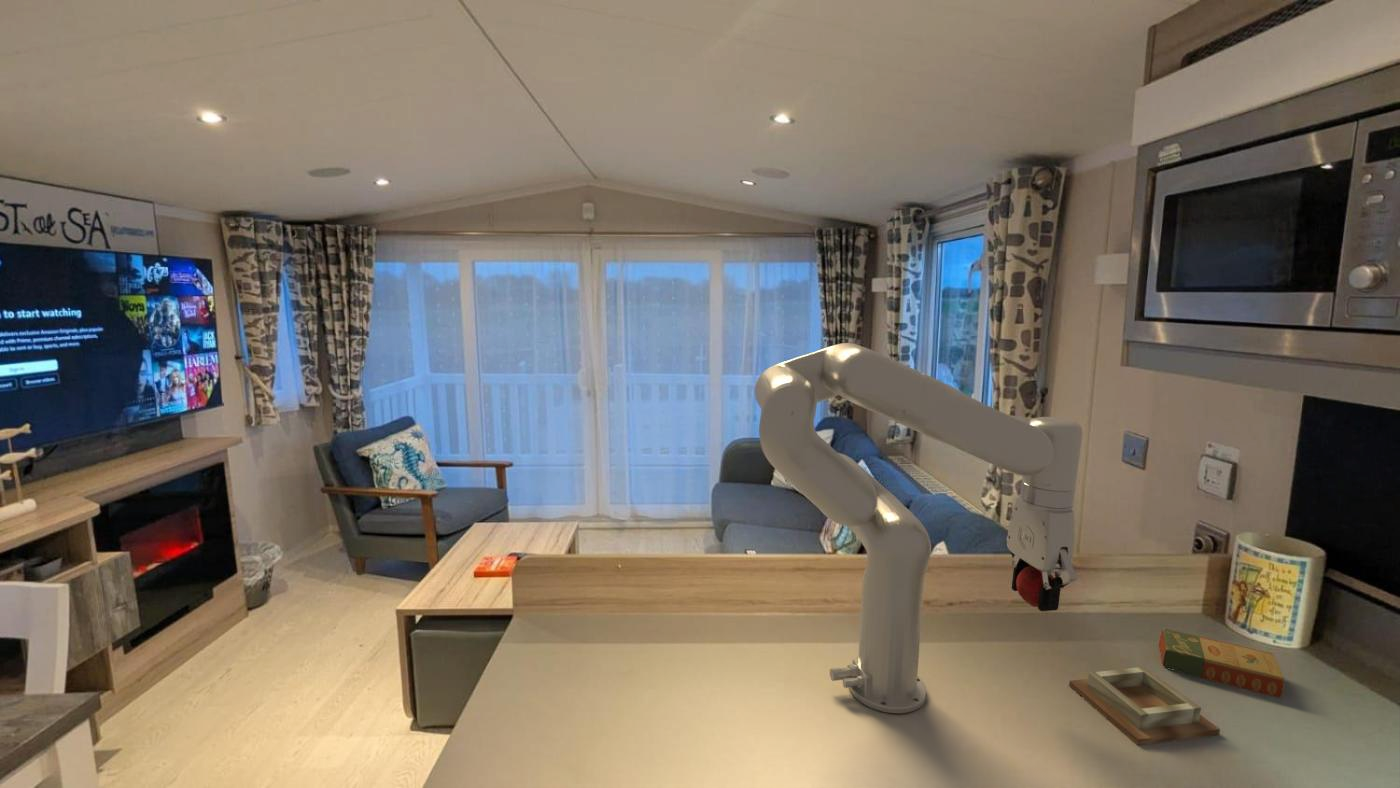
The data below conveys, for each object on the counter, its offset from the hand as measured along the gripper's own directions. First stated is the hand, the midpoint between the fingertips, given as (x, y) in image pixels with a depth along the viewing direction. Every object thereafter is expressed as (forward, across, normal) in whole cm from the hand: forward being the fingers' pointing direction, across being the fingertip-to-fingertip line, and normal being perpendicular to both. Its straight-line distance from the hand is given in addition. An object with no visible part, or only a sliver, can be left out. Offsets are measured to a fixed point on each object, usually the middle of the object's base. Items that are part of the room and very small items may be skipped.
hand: (1033, 598), depth 104 cm
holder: (+16, +8, +15) cm, 23 cm away
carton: (+16, +1, +37) cm, 40 cm away
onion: (+2, 0, 0) cm, 2 cm away
